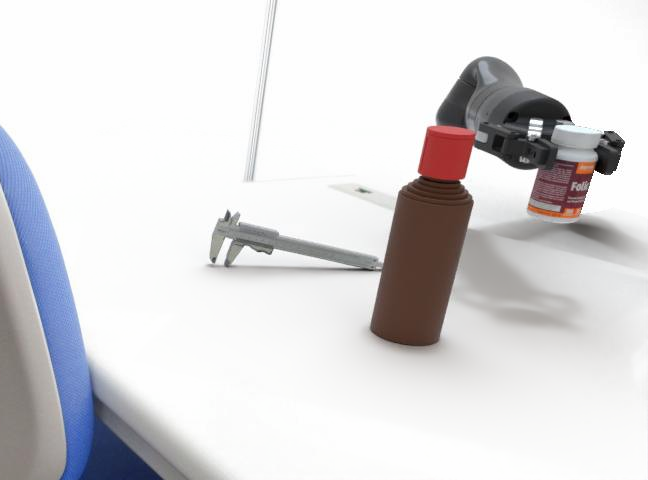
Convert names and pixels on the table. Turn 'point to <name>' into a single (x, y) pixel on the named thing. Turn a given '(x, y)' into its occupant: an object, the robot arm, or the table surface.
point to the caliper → (278, 244)
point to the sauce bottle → (421, 260)
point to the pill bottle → (565, 176)
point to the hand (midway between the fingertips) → (581, 161)
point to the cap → (446, 152)
